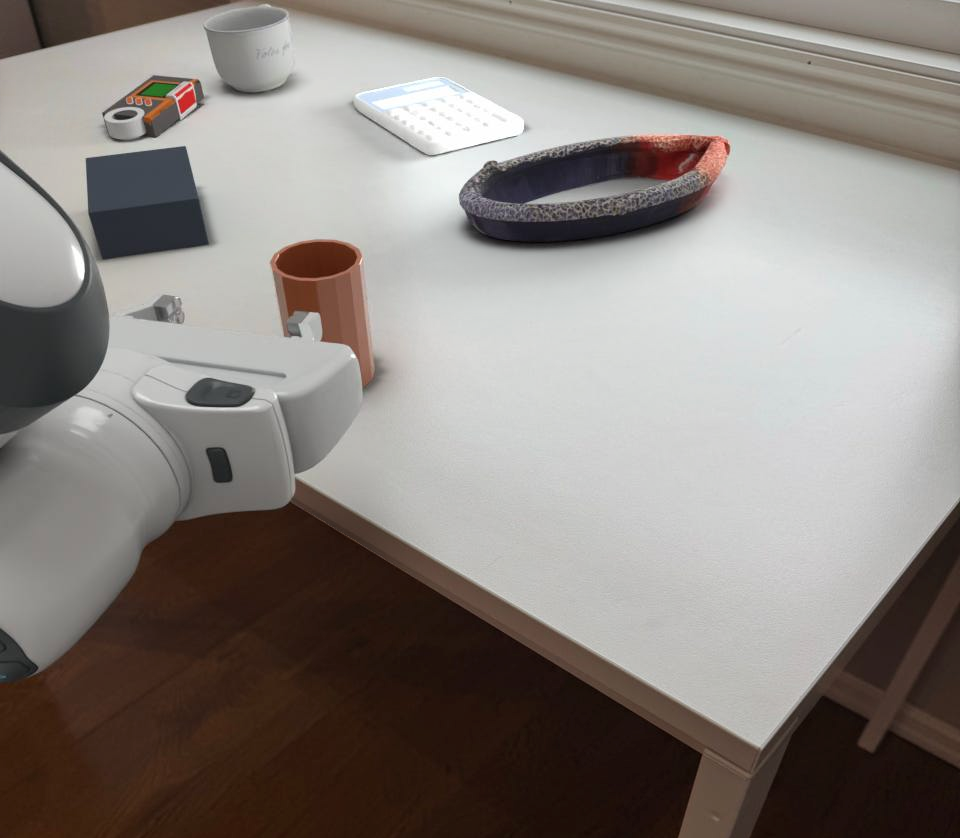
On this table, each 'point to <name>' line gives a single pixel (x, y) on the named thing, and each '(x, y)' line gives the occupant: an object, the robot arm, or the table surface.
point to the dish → (512, 183)
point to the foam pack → (144, 202)
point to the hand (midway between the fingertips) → (240, 313)
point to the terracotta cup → (327, 293)
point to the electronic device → (152, 107)
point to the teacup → (252, 47)
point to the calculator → (438, 115)
